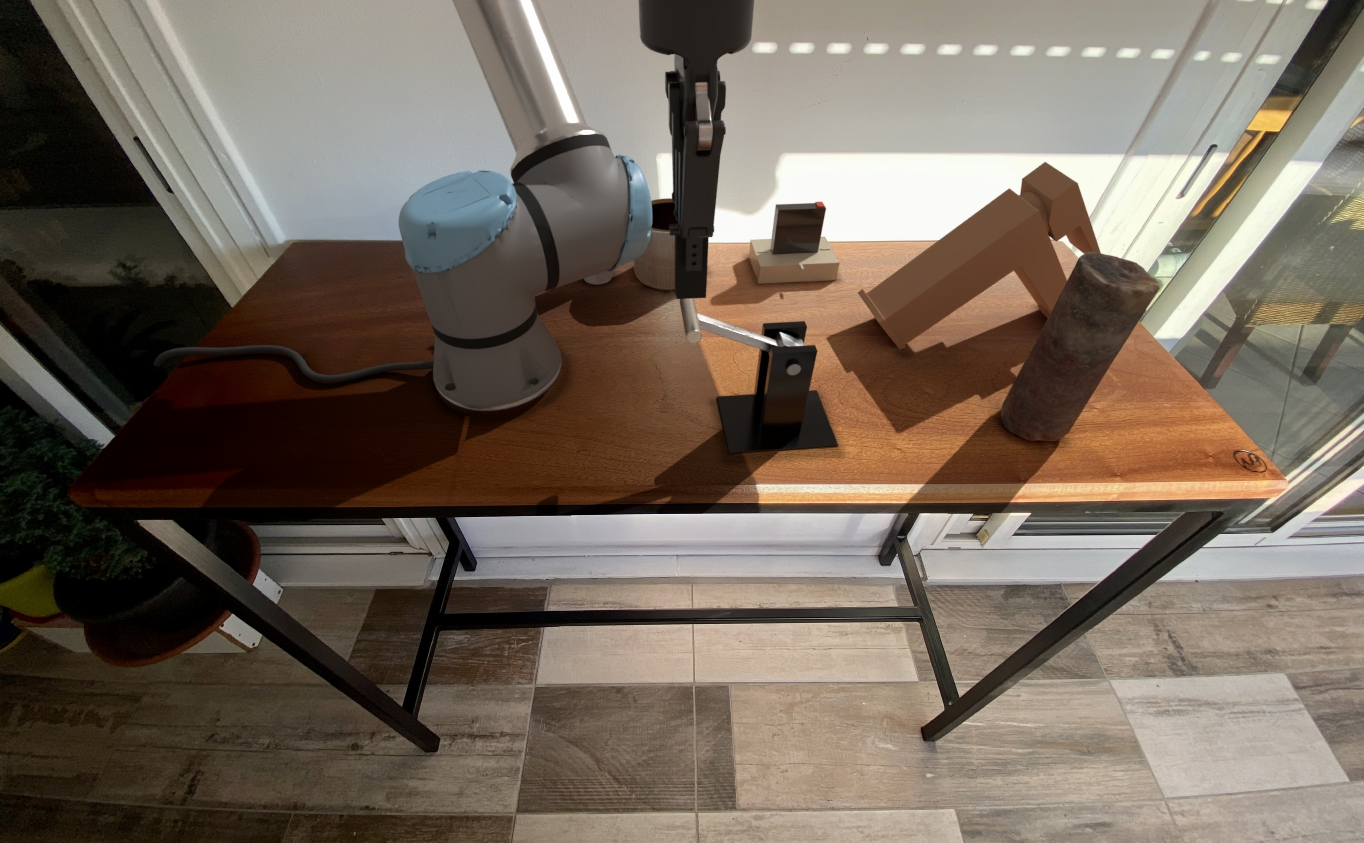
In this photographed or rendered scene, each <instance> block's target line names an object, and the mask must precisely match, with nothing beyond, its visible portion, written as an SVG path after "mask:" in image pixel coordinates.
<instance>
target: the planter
mask: <svg viewBox="0 0 1364 843" xmlns="http://www.w3.org/2000/svg"><path fill="white" fill-rule="evenodd" d="M651 203H652V226H651V236H650V240H649V243H648V245H647V248H646V249H645V251H644V252H643V254H642V255H641V256H640V257H639V258H637V259H635V260H634V261H633V270H634V274H635V277H636V278H637V280H638V281H639V282H640V283H642V284H643V285H645V286H647V287H650V288H652V289H655V290H659V291H664V292H665V291H666V292H667V291H668V292H669V291H671V292H673V291H674V292H675V235H673V236H670V231H669V224H678V220H676V217H675V216H674V210H675V203H674V202H673V199H672V197H670V198H668V197H667V198H657V199H651Z"/></svg>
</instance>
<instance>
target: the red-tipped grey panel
mask: <svg viewBox="0 0 1364 843" xmlns="http://www.w3.org/2000/svg"><path fill="white" fill-rule="evenodd" d="M826 211H827V207H826V206H825V204H824V202H823V201H815V202H807V203H805V202H804V203H803V202H802V203H779V204H778V203H777V204H775V208H774V214H773V215H774V216H773V222H772V230H771V238H770V239H771V247H770V249H771V251H772V254H791V253H814V252H818V249H819V244H820V238H821V237H822V232H823V226H824V222H825V217H826Z"/></svg>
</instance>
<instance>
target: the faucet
mask: <svg viewBox="0 0 1364 843" xmlns="http://www.w3.org/2000/svg"><path fill="white" fill-rule="evenodd" d="M1019 192H1020V193H1019V194H1018V193H1016V192H1015V191H1014V190H1012V189H1011V188H1007V189H1006V190H1005V191H1003V192H1002V193H1001V194H999V195H998V196H996V197H995V198H994V199H993V200H991V201H990V202H989V203H987V204H986V205H984V206H983V207H982V208H980V209H979V210H978V211H976V212H975V213H974V214H972V215H971V216H969V217H967V218H966V219H965V220H964V221H963V222H961V223H960V224H959V225H957V226H956V227H955V228H953V229H951V231H949V232H948V233H947V234H945V235H944V236H943V237H941V238H939V240H937V241H936V242H934V243H933V244H932V245H930V246H928V247H927V248H926V249H924V250H923V251H922V252H921V253H919V254H918V255H917V256H915V257H914V258H912V259H911V260H910V261H909V262H907V263H906V264H904V265H903V266H902V267H900V268H899V269H897V271H895V272H894V273H892V274H891V275H890V276H888V277H887V278H886V279H884V280H883V281H882V282H880V283H879V284H878V285H876V286H875V287H873V288H872V289H871V290H869V291H868V292H866V291H865V290H864V288H862V289H860V290H859V291H858V292H857V294H858V296H859V297H860V298H861V300H862V302H864V304H865V306H866V307H867V308H868V309H869V311H870V313H871V314H872V315H873V317H874V318H875V320H876V321H877V323H878V324H879V325H880V327H881V328H882V329H883V331H884V332H885V333H886V334H887V336H888V337H889V338H890V340H891V341H892V342H893V344H894V345H895V346H896V347H897V348H898V350H900V349H906V348H907V347H906V345H907V344H908V343H910V342H911V341H913V340H914V339H916V338H917V337H919V336H920V335H922V334H923V333H924V332H926V331H927V330H929V329H930V328H933V327H934V326H935V325H936V324H938V323H939V322H941V321H942V320H944V319H945V318H946V317H948V316H950V315H951V314H952V313H954V312H955V311H957V310H958V309H960V308H961V307H963V306H964V305H966V304H967V303H969V302H971V301H972V300H973V299H975V298H976V297H978V296H979V295H981V294H982V293H983V292H985V291H986V290H988V289H989V288H991V287H992V286H994V285H995V284H997V283H998V282H999V281H1001V280H1002V279H1004V278H1006V277H1008V276H1009V275H1010V274H1011V273H1013V272H1014V273H1015V275H1016V277H1017V278H1018V279H1019V280H1020V282H1021V283H1022V284H1023V286H1024V287H1025V289H1026V290H1027V292H1028V293H1029V295H1030V296H1031V298H1032V299H1033V301H1034V302H1035V303H1036V305H1037V308H1038V309H1039V311H1040V312H1041V313H1042V314H1043V315H1044V317H1046V318H1047V319H1048V317H1049V315H1050V313H1051V312H1052V310H1053V308H1054V306H1055V304H1056V302H1057V300H1058V297H1059V296H1060V294H1061V292H1062V290H1063V289H1064V287H1065V285H1066V283H1067V280H1068V278H1067V276H1066V274H1065V271H1064V268H1063V267H1062V265H1061V262H1060V260H1059V257H1058V255H1057V253H1056V250H1055V249H1056V248H1055V247H1054V244H1053V242H1052V240H1053V241H1054V242H1058V241H1060V240H1061V239H1063V238H1064V237H1065V236H1066V238H1067V240H1068V243H1069V244H1071V245H1072V246H1073V247H1075V248H1076V249H1077V250H1079V251H1080V252H1081V253H1083V254H1085V253H1088V252H1098V253H1101V254H1102V252H1101V249H1100V247H1099V243H1098V240H1097V236H1096V234H1095V231H1094V228H1093V224H1092V222H1091V218H1090V216H1089V212H1088V210H1087V207H1086V204H1085V200H1084V198H1083V195H1082V191H1081V189H1080V186H1079V183H1078V182H1077V181H1075V180H1074V179H1072V178H1071V177H1069V176H1068V175H1067V174H1065V173H1063V172H1062V171H1060V170H1058V169H1057V168H1055V167H1054V166H1053V165H1051V164H1049V163H1048V162H1047V161H1044V162H1042V163H1041V164H1040V165H1038V166H1037V167H1036V168H1034V169H1033V170H1032V171H1030V172H1029V173H1027V175H1025V176H1023V177H1022V179H1021V185H1020V191H1019ZM1051 239H1052V240H1051Z"/></svg>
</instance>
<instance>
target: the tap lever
mask: <svg viewBox="0 0 1364 843" xmlns="http://www.w3.org/2000/svg"><path fill="white" fill-rule="evenodd" d="M679 306H680V312H681V317H682V323H683V328H684V334H685V339H686V341H687V342H688V343H690V344H697V343H698V342H700V341H701V340H702V337H703V336H702V331H705V332H709V333H711V334H714V335H717V336H720V337H723V338H726V339H729V340H732V341H735V342H738V343H741V344H743V345H747V346H748V347H749V346H750V347H753V348H755V349H758V350H760V349H761V350H764V351H767V352H768V353H769V356H770V351H771V347H788V346H805V342H804V343H803V341H802V340H801V339H799V338H796V337H793V336H790V335H787V334H784V333H782V332H779V333H778V335H777V336H776V337H775V339H771V338H768V337H766V336H763V335H761V334H759V333H757V332H754V331H750V330H749V329H746V328H742V327H739V326H736V325H733V324H730V323H727V322H726V321H722V320H719V319H716V318H713V317H710V316H707V315H705V314H702V313H698V312H697V306H696V301H695V298H691V299H679Z"/></svg>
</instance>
